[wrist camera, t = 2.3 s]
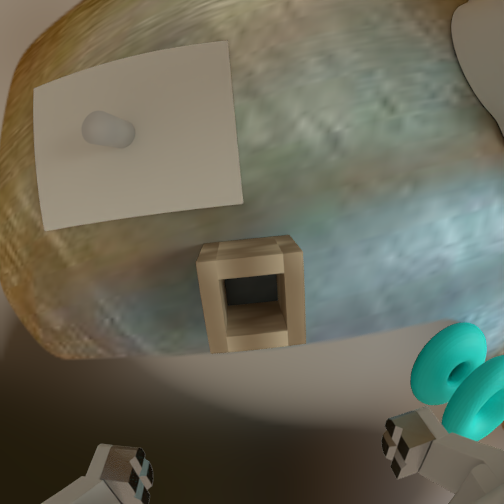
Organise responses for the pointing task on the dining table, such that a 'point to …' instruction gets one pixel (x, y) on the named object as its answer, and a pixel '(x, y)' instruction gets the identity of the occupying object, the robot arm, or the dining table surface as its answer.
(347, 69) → the dining table surface
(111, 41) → the dining table surface
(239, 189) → the post board
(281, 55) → the dining table surface
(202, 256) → the collar
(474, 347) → the donuts
